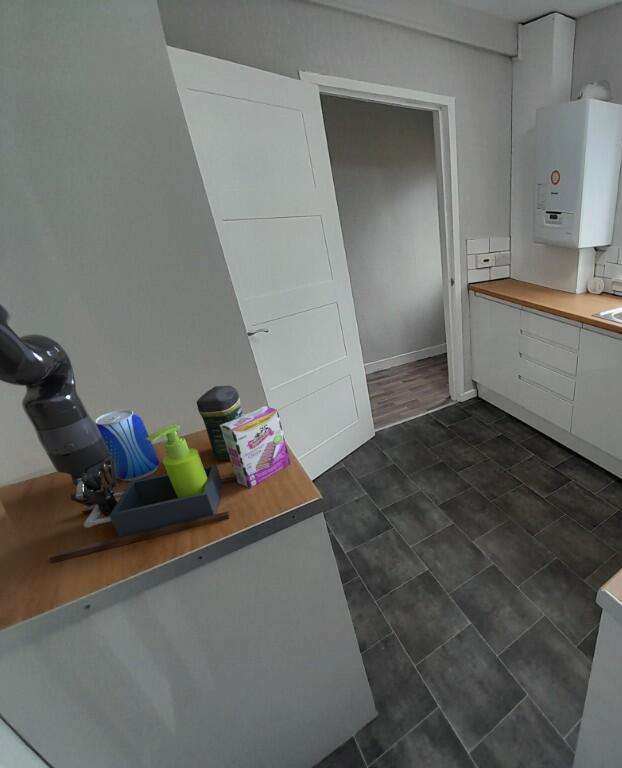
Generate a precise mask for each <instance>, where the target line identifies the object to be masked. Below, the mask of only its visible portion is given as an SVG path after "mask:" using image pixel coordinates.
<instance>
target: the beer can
mask: <svg viewBox="0 0 622 768" xmlns="http://www.w3.org/2000/svg"><path fill="white" fill-rule="evenodd" d="M94 422H95V424H96V425H97V427H98V429H99V431H100V433H101V435H102V437H103V439H104V441H105V443H106V445H107V447H108V449H109V451H110V455H109V456H108V458H107V459H106V460H109V459H113V460H114V468H115V478H116V479H118V480H121V481H123V482H130V481H135V480H141V479H146V478H148V477H150V476H151V475H153V474H154V473H155V472H156V471H158V468H159V467H160V464H161V460H160V458H159V456H158V453H157V452H156V449H155V447H154V444H153V441H150V440H146V439H145V438H147V437H148V436H149V435H150V434H149V433H148V431H147V428H146V426H145V423H144V421H143V419H142V418H141V417H140V416H138V415H137V414H135V413H134V412H133V411H132V410H130V409H120V410H113V411H110V412H107V413H104V414H102V415H100V416H98V417H97V418H96V419H95V420H94Z"/></svg>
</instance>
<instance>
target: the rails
mask: <svg viewBox="0 0 622 768" xmlns="http://www.w3.org/2000/svg"><path fill="white" fill-rule="evenodd" d="M221 480H222V483H223V485H227V484H231V483H236V482H237V479H236V476H235V475H233V476H230V477H224V478H221ZM116 501H117V502H118V501H119V500H116ZM95 506H96V505H93V506H90V507H88V506H86V507H83V509H82V510H81V513H82V515H83V517H84V516H89V515H90V514H91V512H92V511H93V509H94V508H95ZM230 518H231V513H230V511H229V510H228V511H224V512H219V513H216V514H215V515H211V516H206V517H202V518H198V519H194V520H190V521H185V522H181V523H177V524H173V525H169V526H165V527H160V528H156V529H152V530H148V531H144V532H139V533H135V534H131V535H127V536H123V537H119V536H117V537H115V538H111V539H106V540H102V541H98V542H93V543H88V544H86V545H82V546H78V547H77V546H76V547H73V548H69V549H65V550H60V551H56V552H52V553H51V554H50V555H49V557H48V559H49V561H50V562H51V563H56V562H60V561H63V560H67V559H68V560H69V559H72V558H76V557H80V556H84V555H88V554H92V553H93V554H94V553H97V552H101V551H104V550H108V549H112V548H117V547H121V546H124V545H130V544H133V543H138V542H141V541H146V540H150V539H153V538H154V539H155V538H157V537H161V536H165V535H170V534H174V533H178V532H181V531H186V530H190V529H194V528H198V527H203V526H206V525H210V524H214V523H219V522H222V521H225V520H226V521H227V520H229V519H230Z"/></svg>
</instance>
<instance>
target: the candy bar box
mask: <svg viewBox="0 0 622 768" xmlns="http://www.w3.org/2000/svg"><path fill="white" fill-rule="evenodd" d="M220 428H221V431H222V434H223V438H224V441H225V444H226V447H227V450H228V453H229V456H230V460H231V461H230V463H231V466H232V470H233V473H234V476H236V479H237V481H236V482H237V484H239V485H241V486H243V487H245V488H247V489H249V490H250V489H252V488H254V487H256V486H257V485H259V484H260V483H262V482H264V481H265V480H267V479H269V478H270V477H272V476H274V475H275V474H278V473H279V472H280V471H281V470H283V469H285V468H287V467H288V466H290V465H291V460H290V456H289V452H288V448H287V443H286V439H285V435H284V431H283V426H282V422H281V418H280V415H279V410H278V409H277V408H273V407H270V406H267V405H265V406H264V405H263V406H261V407H259V408H256V409H254V410H252V411H249V412H248V413H246V414H243V416H241V417H238V418H236V419H234V420H231V421H229V422H227V423H224V424H222V425H220Z"/></svg>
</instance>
